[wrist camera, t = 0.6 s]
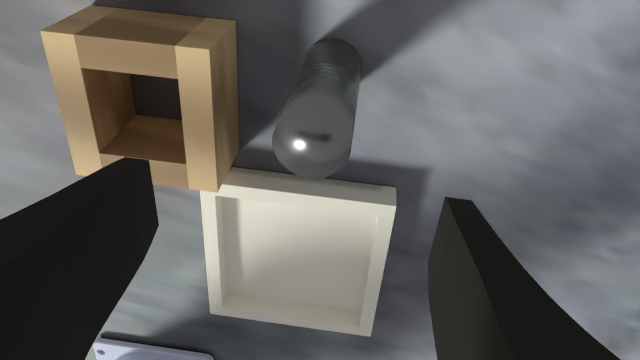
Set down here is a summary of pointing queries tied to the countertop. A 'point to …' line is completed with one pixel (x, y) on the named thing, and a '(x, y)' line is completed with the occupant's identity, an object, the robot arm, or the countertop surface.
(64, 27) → the wooden square frame
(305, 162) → the cylinder
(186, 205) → the countertop surface
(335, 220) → the tray
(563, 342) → the robot arm
